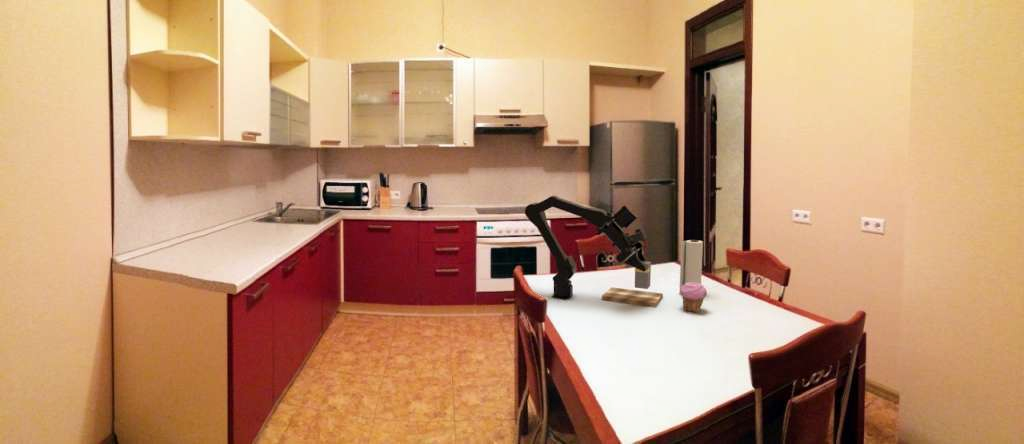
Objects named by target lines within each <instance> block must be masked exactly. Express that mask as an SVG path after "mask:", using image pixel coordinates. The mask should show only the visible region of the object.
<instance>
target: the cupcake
mask: <svg viewBox="0 0 1024 444" xmlns="http://www.w3.org/2000/svg"><path fill="white" fill-rule="evenodd" d="M679 291H680V296H681V297H682V307H683V309H684V310H685V311H689V312H693V313H698V312H699V310H700V309H701V307H702V305H703V302H704V299H705V298H706V297H708V291H707V289H706V287H705V286H704V285H703V284H702V283H701V284H700V283H696V282H689V283H685V284H684V285H683V286H681V288H680V287H679Z"/></svg>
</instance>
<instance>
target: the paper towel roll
mask: <svg viewBox="0 0 1024 444" xmlns="http://www.w3.org/2000/svg"><path fill="white" fill-rule="evenodd" d="M680 243H681V244H680V246H681V247H680V266H679V267H680V269H679V270H680V272H679V289H680V288H681V286H683V285H684V284H685V283H689V282H696V283H700V284H702V273H703V249H704V248H703V247H704V241H702V240H697V239H689V240H683V241H681V242H680ZM678 295H680V290H679V293H678ZM680 296H681V295H680Z"/></svg>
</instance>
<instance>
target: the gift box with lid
mask: <svg viewBox="0 0 1024 444" xmlns="http://www.w3.org/2000/svg"><path fill="white" fill-rule="evenodd" d="M641 262H642V264H643V265H644V267H645V268H646V271H644V272H643V271H641V270H639V269H637V268H635V267H634V288H635V289H645V290H648V289H649V288H650V287H651V273H652V271H651V270H652V261H647V260H646V261H641Z"/></svg>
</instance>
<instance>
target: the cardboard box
mask: <svg viewBox="0 0 1024 444" xmlns="http://www.w3.org/2000/svg"><path fill="white" fill-rule="evenodd" d="M662 299H664V294H663V293H661V292H653V291H645V290H637V289H628V288H619V287H612V286H611V287H610V288H609V289H608V290H607V291H606V292H605V293H603V294H602V295H601V300H602V301H609V302H616V303H624V304H631V305H638V306H646V307H653V308H657V306H658V305H659V304H660V302H661V301H662Z"/></svg>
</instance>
